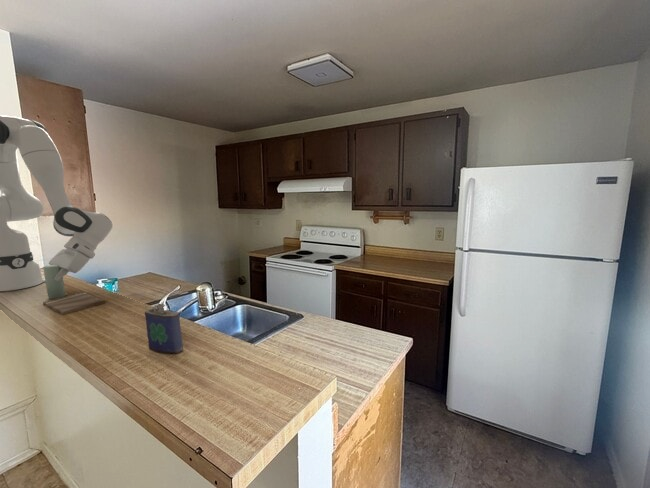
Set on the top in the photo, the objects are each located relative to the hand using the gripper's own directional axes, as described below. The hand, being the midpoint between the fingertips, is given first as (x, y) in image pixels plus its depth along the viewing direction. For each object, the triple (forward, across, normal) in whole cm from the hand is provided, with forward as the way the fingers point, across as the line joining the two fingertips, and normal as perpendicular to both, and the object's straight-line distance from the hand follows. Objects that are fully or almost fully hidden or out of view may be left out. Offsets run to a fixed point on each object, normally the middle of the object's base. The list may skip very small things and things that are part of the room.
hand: (51, 279), depth 116 cm
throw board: (+5, +16, +6) cm, 18 cm away
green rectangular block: (+5, 0, +6) cm, 7 cm away
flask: (+6, +77, +4) cm, 77 cm away
